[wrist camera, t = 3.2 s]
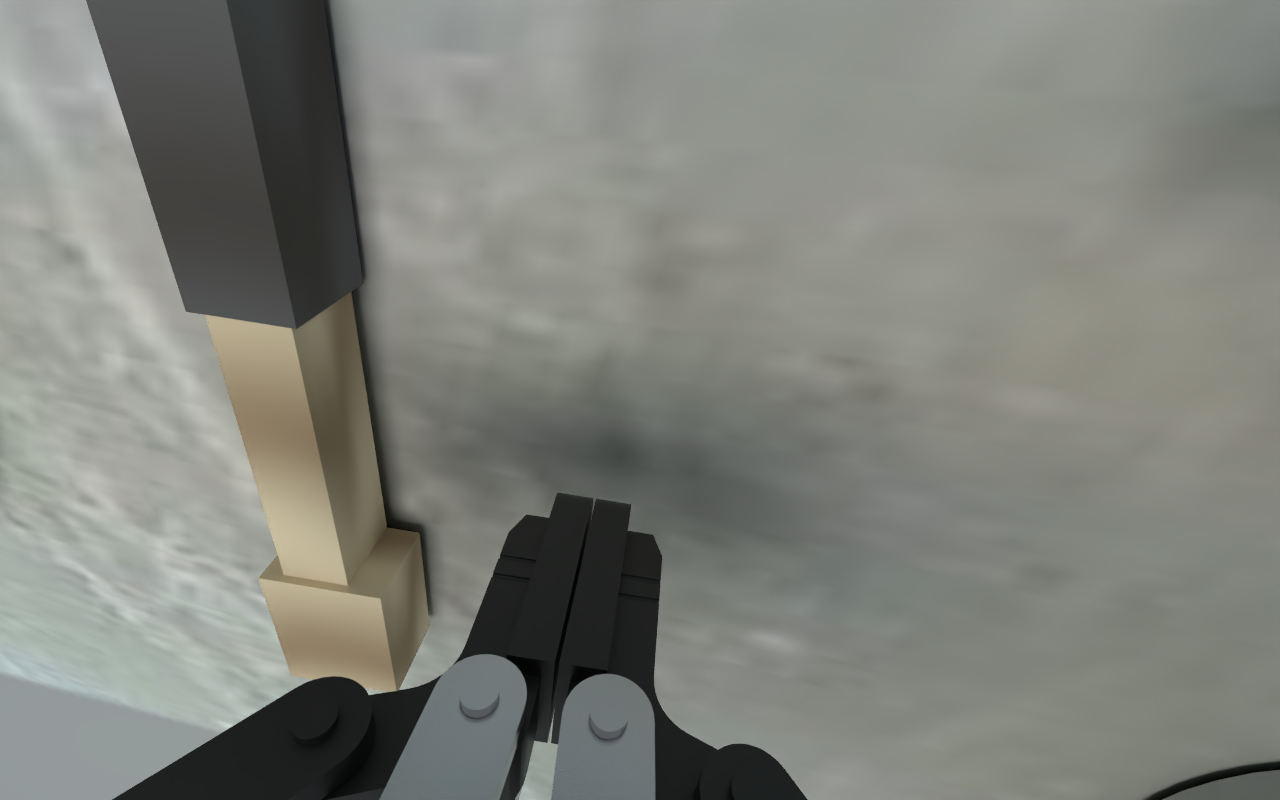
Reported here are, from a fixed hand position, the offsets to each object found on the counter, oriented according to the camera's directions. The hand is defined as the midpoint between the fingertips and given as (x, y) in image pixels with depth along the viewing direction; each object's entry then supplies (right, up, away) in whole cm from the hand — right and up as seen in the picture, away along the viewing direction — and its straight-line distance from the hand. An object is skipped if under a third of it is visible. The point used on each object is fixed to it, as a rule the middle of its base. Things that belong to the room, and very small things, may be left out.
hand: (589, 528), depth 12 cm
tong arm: (-6, +4, +1) cm, 7 cm away
